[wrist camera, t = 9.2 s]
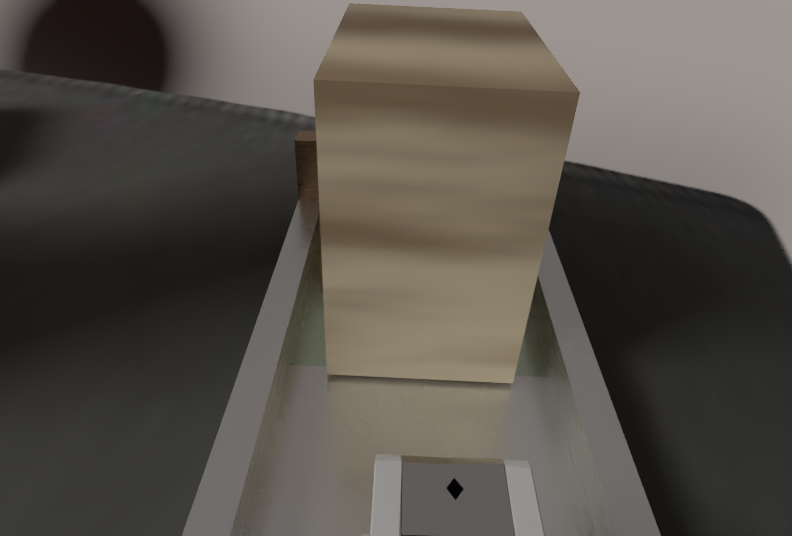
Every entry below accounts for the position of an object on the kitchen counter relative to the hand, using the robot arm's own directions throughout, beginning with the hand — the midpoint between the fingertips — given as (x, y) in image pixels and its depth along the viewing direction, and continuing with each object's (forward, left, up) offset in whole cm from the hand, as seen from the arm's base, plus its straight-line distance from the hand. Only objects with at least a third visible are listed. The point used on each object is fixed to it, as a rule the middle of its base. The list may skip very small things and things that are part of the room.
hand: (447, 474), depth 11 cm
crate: (-11, +8, -6) cm, 15 cm away
